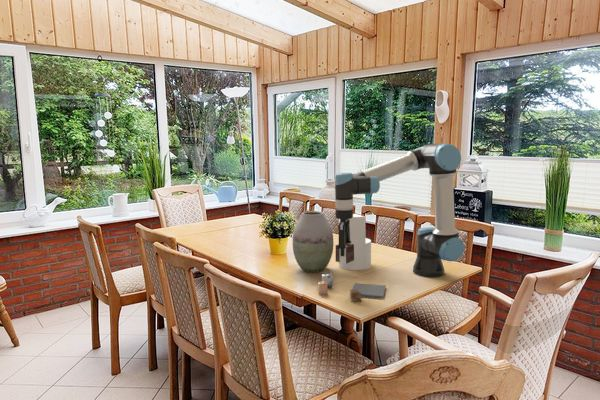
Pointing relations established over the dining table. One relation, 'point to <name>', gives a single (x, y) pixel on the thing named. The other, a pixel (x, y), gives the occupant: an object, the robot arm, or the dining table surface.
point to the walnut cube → (355, 295)
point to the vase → (312, 242)
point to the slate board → (370, 290)
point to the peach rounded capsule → (322, 288)
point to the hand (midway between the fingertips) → (344, 260)
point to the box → (348, 253)
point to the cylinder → (359, 245)
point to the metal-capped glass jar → (328, 279)
